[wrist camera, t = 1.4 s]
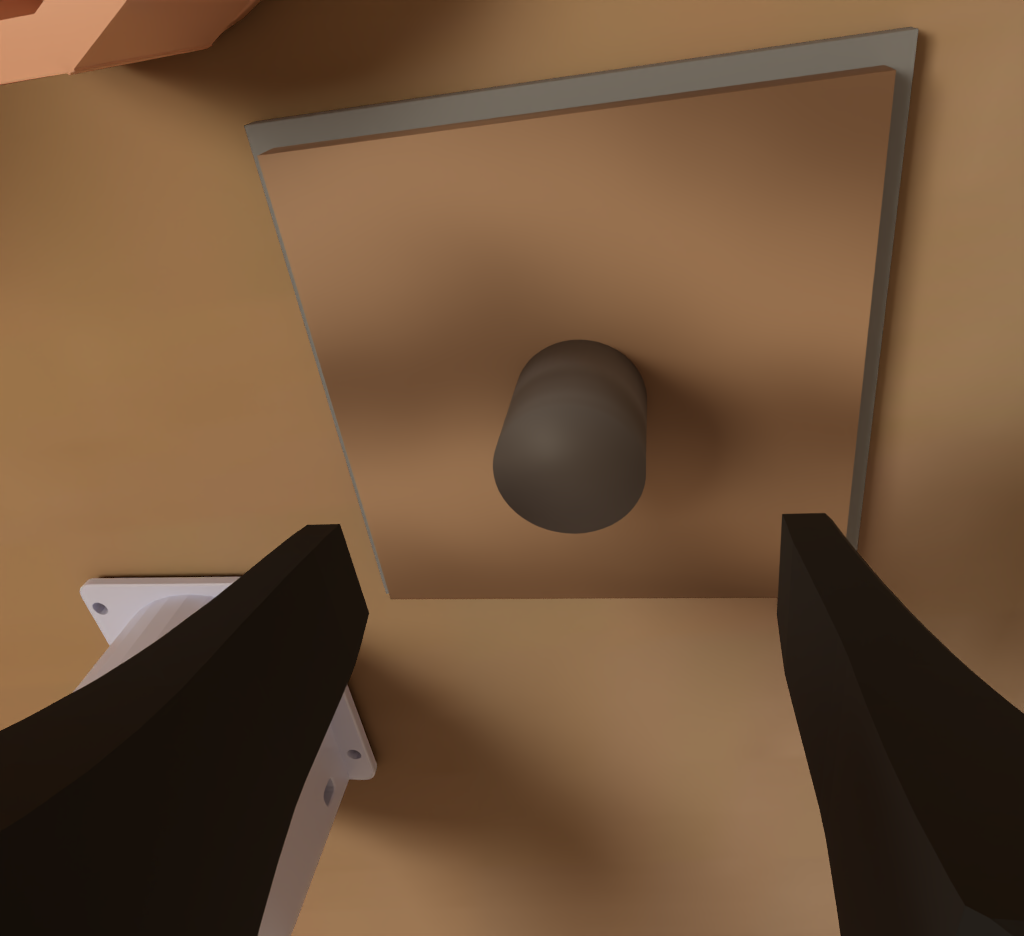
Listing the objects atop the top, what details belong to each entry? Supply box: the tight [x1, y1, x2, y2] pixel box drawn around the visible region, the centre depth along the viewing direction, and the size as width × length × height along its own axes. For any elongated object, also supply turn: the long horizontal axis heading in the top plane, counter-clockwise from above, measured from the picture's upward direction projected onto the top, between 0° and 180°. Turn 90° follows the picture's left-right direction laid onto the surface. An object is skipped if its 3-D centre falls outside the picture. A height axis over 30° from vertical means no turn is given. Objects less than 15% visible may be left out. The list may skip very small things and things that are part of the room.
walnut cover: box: [257, 65, 896, 599], centre depth 17 cm, size 12×12×4 cm
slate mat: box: [244, 27, 918, 593], centre depth 18 cm, size 13×13×1 cm
